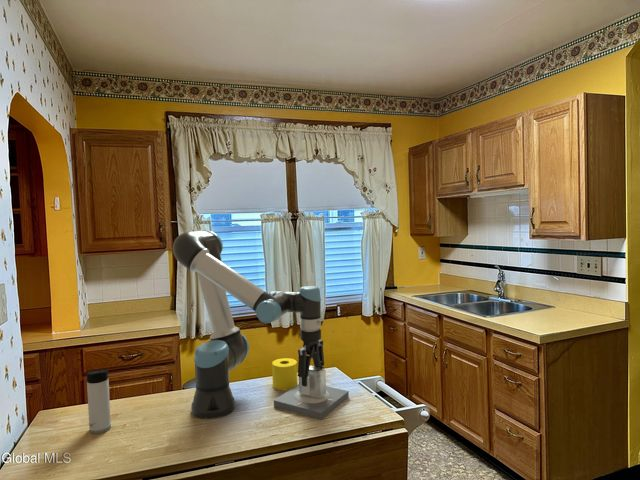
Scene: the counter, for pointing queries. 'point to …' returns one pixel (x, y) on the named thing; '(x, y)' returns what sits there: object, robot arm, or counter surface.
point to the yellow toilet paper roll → (284, 373)
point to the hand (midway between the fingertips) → (311, 390)
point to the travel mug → (98, 401)
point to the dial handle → (315, 382)
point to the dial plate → (311, 402)
